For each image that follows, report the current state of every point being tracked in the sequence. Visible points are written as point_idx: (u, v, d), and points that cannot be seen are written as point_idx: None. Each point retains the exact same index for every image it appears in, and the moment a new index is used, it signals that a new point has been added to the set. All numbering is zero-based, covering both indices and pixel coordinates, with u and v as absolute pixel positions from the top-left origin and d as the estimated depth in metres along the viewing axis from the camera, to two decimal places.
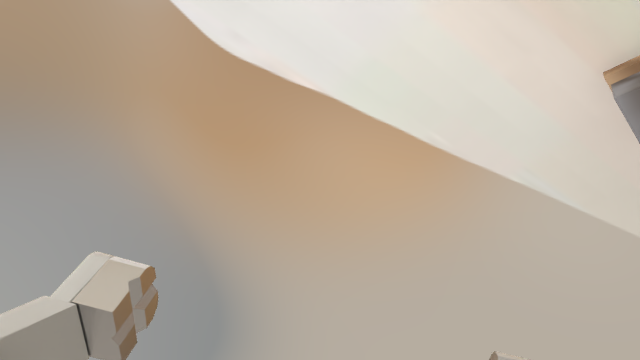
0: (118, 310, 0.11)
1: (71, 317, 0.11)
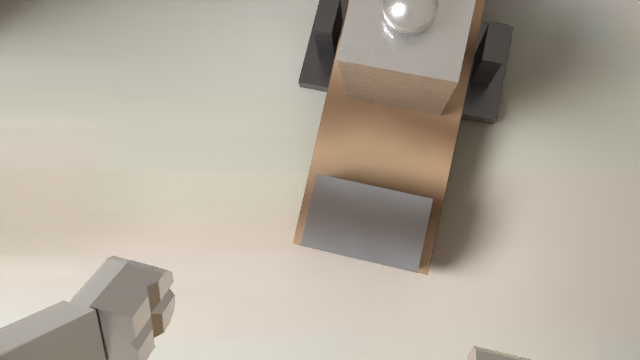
0: (137, 315, 0.11)
1: (90, 322, 0.11)
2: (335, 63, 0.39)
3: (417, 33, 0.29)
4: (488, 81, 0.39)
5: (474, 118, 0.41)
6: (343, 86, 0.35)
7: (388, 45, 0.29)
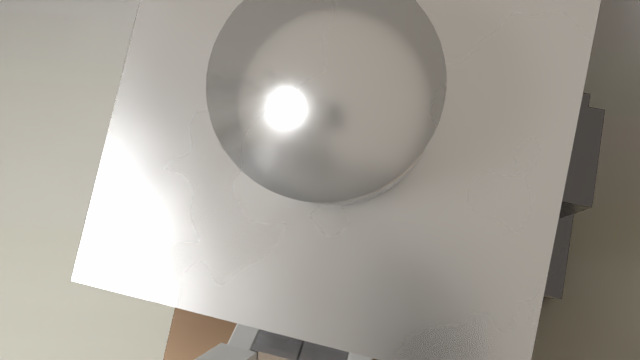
0: (298, 358, 0.10)
1: None
2: None
3: (361, 201, 0.07)
4: None
5: None
6: None
7: (259, 233, 0.08)
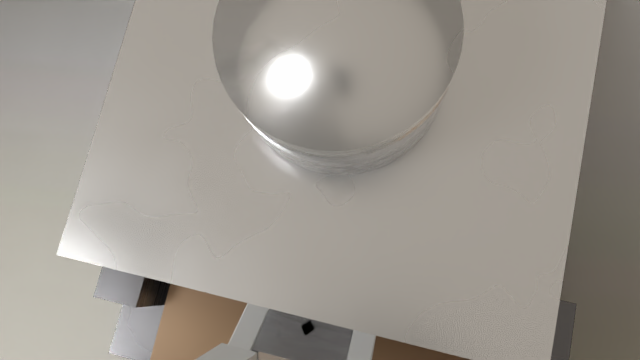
0: (298, 358, 0.10)
1: None
2: None
3: (371, 164, 0.07)
4: None
5: None
6: None
7: (261, 203, 0.07)
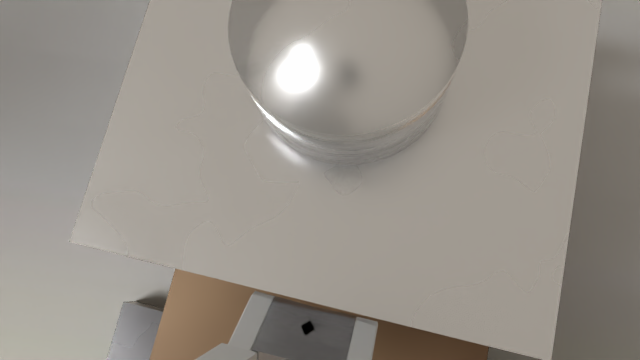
0: (298, 358, 0.10)
1: None
2: None
3: (378, 153, 0.07)
4: None
5: None
6: None
7: (269, 192, 0.08)
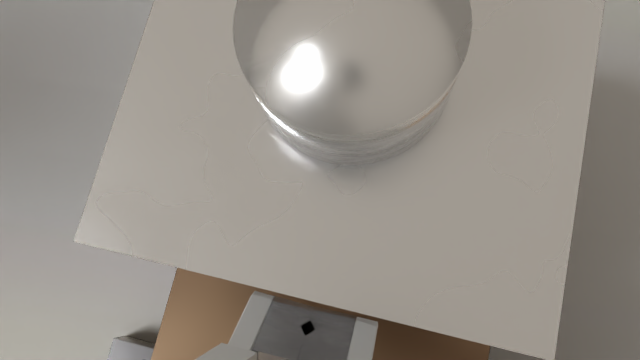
0: (298, 358, 0.10)
1: None
2: None
3: (382, 153, 0.07)
4: None
5: None
6: None
7: (274, 192, 0.08)
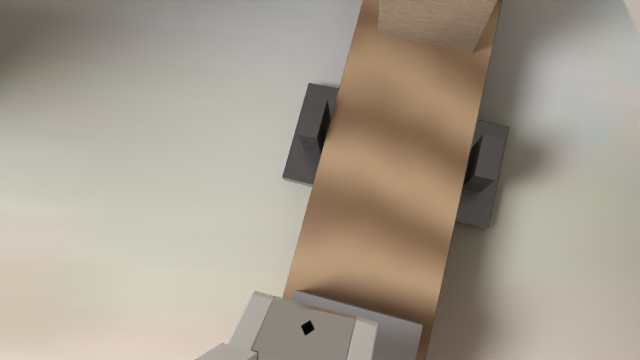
0: (298, 358, 0.10)
1: None
2: (320, 165, 0.36)
3: None
4: (481, 188, 0.37)
5: (465, 223, 0.39)
6: (379, 11, 0.35)
7: None
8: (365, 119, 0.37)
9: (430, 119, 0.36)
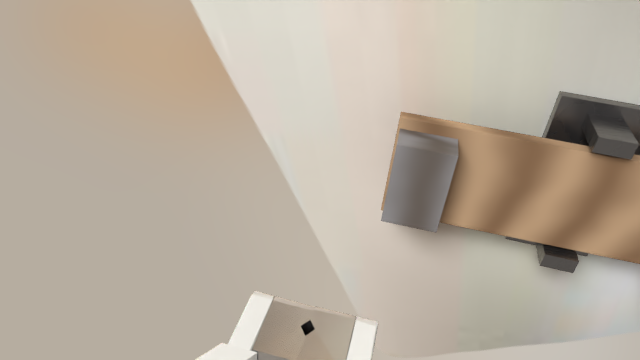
0: (298, 358, 0.10)
1: None
2: (565, 149, 0.42)
3: None
4: None
5: None
6: None
7: None
8: (606, 182, 0.43)
9: (597, 225, 0.45)
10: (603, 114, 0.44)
